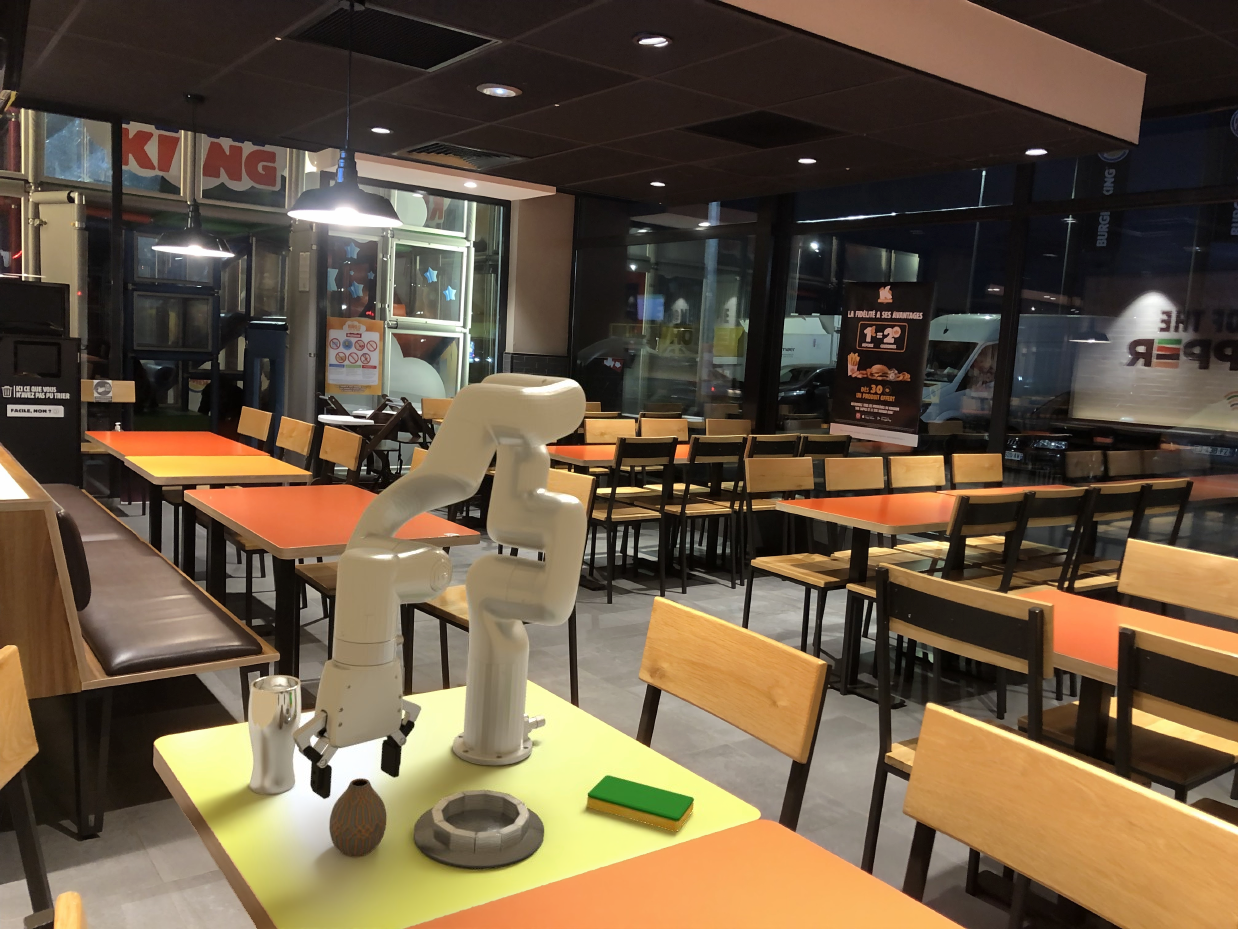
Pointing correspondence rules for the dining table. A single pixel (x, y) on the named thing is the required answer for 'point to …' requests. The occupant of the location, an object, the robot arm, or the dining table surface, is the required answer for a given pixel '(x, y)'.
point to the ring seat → (479, 830)
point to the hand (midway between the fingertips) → (356, 783)
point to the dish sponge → (640, 802)
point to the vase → (358, 819)
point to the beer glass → (273, 732)
